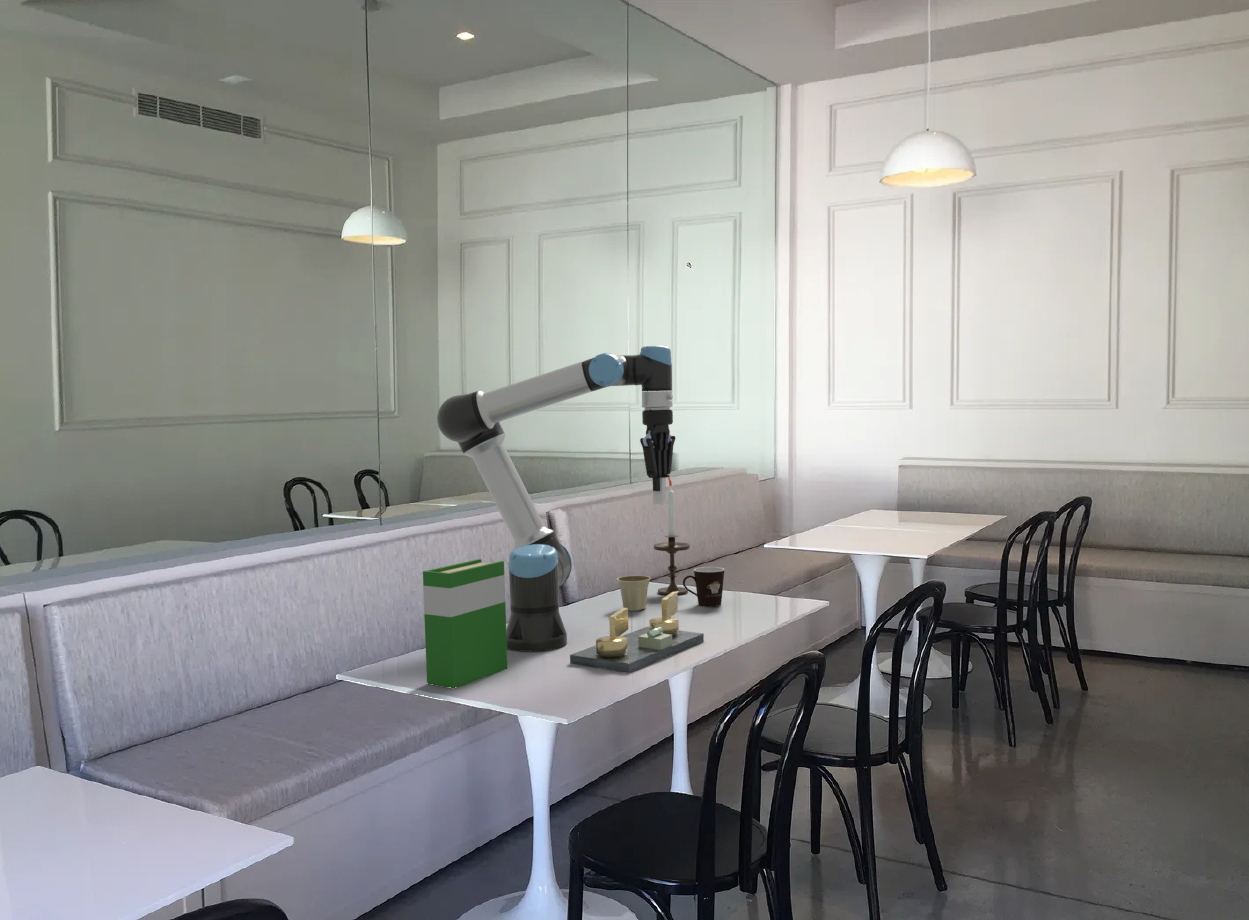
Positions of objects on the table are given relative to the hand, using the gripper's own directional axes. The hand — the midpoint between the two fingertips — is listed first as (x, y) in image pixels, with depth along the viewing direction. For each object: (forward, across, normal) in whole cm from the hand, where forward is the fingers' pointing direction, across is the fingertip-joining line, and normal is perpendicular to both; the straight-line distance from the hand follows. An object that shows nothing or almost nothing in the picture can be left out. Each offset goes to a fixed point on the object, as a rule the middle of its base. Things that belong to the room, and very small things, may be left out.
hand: (659, 503), depth 262 cm
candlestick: (+33, +46, +25) cm, 62 cm away
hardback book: (+33, -54, +15) cm, 65 cm away
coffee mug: (+33, +35, +8) cm, 48 cm away
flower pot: (+33, +21, +23) cm, 45 cm away
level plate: (+32, -19, -6) cm, 38 cm away
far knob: (+30, -5, -5) cm, 31 cm away
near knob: (+30, -27, -5) cm, 41 cm away
